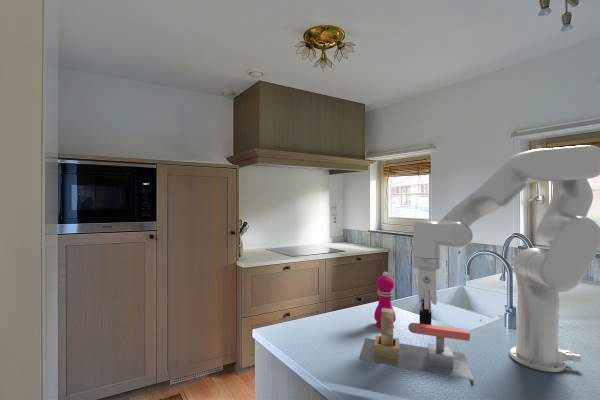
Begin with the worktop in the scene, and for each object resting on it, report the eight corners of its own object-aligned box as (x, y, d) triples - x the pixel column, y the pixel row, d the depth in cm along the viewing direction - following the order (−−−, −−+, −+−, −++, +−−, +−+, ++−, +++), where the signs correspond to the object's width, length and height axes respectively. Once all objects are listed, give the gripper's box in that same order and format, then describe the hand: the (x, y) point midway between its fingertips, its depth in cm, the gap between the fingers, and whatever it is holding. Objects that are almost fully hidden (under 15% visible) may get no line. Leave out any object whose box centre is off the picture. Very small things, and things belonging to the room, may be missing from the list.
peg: (392, 350, 92) (393, 309, 92) (392, 355, 89) (392, 313, 89) (381, 348, 93) (382, 307, 93) (380, 353, 90) (381, 311, 90)
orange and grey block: (467, 351, 86) (468, 328, 85) (469, 356, 83) (470, 332, 83) (408, 342, 91) (408, 320, 90) (407, 346, 88) (408, 324, 88)
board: (464, 357, 91) (464, 342, 91) (473, 384, 78) (473, 367, 78) (365, 341, 100) (365, 328, 100) (358, 363, 87) (358, 348, 87)
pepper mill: (396, 334, 106) (397, 274, 105) (374, 332, 107) (375, 273, 107) (394, 326, 113) (395, 270, 112) (373, 324, 114) (374, 268, 114)
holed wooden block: (399, 348, 93) (399, 338, 93) (398, 359, 87) (398, 348, 87) (376, 345, 95) (376, 335, 95) (373, 355, 89) (374, 344, 89)
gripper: (442, 268, 86) (441, 336, 86) (437, 258, 100) (436, 317, 100) (413, 266, 88) (412, 332, 88) (412, 257, 102) (411, 313, 103)
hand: (425, 324), depth 94 cm, fingers closed
